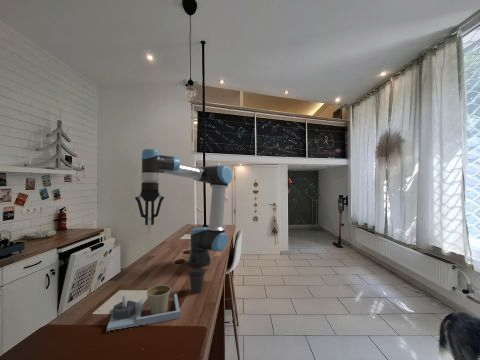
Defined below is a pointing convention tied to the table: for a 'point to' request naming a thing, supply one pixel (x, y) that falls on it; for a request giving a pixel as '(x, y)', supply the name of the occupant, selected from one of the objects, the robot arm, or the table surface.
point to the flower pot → (158, 298)
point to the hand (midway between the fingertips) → (149, 231)
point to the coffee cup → (196, 280)
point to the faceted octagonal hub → (124, 310)
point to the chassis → (139, 320)
